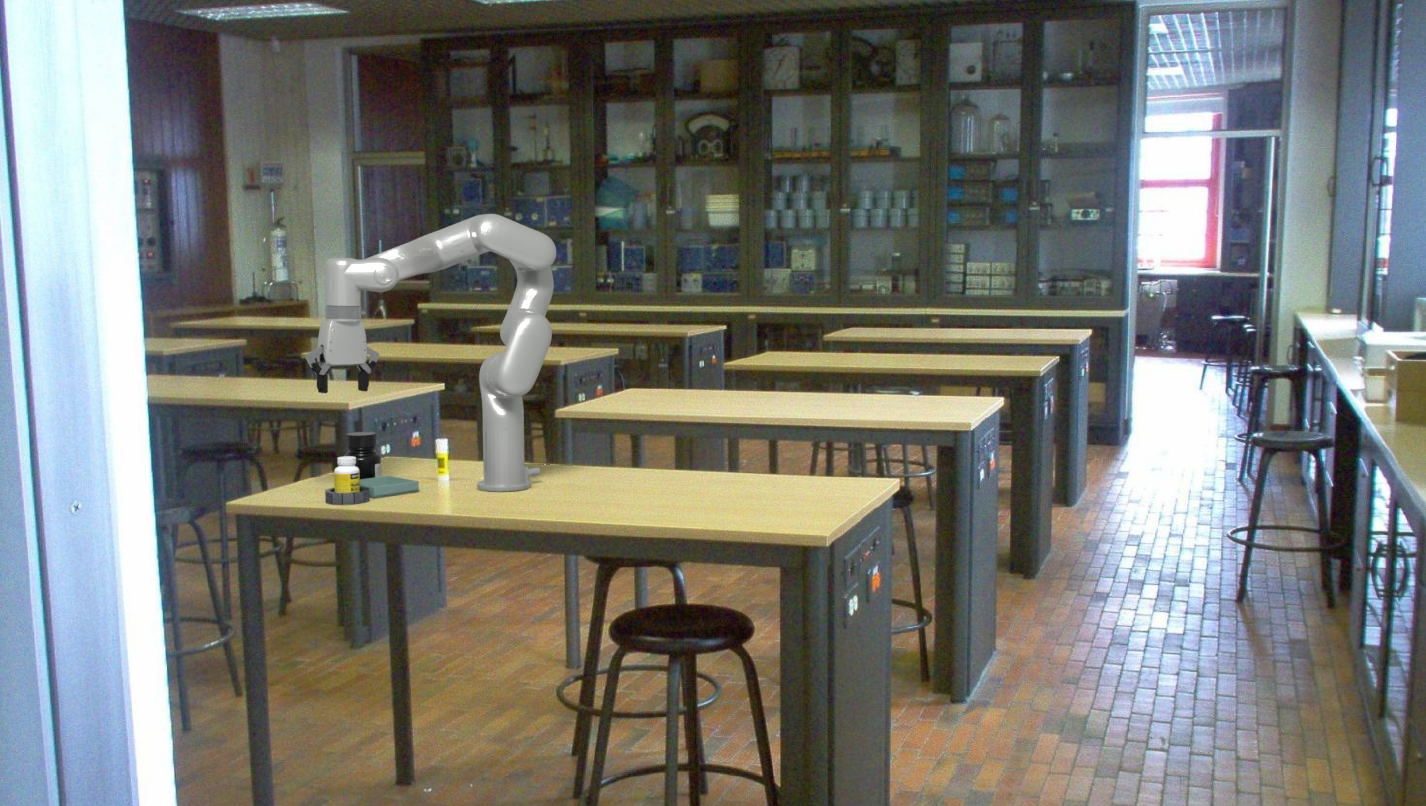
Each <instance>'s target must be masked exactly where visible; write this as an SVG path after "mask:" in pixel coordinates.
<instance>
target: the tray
mask: <svg viewBox="0 0 1426 806" xmlns="http://www.w3.org/2000/svg"><path fill="white" fill-rule="evenodd" d="M419 485H420V484H419V481H418V480H415V479H410V478H409V479H408V478H404V477H403V478H402V477H398V476H393V475H382V477H374V478H367V479H360V486H362V487H367V488H369V492H370V499H372V500H373V499H381V498H387V497H388V498H389V497H395V496H400V495H407V494H413V493H414V494H415V493H419V491H420V489H419V488H420V486H419Z"/></svg>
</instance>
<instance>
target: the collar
mask: <svg viewBox="0 0 1426 806" xmlns="http://www.w3.org/2000/svg"><path fill="white" fill-rule="evenodd" d="M324 491H325V493H324V494H325V495H324V496H325V499H324V501H325V503H326V504H328V505H335V506H336V505H337V506H347V505H348V506H349V505H350V506H351V505H359V504H364V503H367V502H370V501H371V498H370V492H369V488H367V487H362V486H360V491H359V492H350V493H335V487H331V488H330V487H329V488H327V489H324Z"/></svg>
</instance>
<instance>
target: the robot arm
mask: <svg viewBox="0 0 1426 806" xmlns="http://www.w3.org/2000/svg"><path fill="white" fill-rule="evenodd" d="M488 252H492V253H494V254H496V255H499V256H501V257H503V258H505V259H507V260H509V262H510V263H511V265H512V266H513V268H514V270H515V273H516V279H517V282H516V287H515V291H514V294H513V296H512V299H511V301H510V303H509V306H508V309H507V312H506V313H505V316H504V318H503V320H502V323H501V325H500V326H501V327H500V331H499V336H500V340H501V341H502V343H503V344H504V346H505V348H504V351H503V352H496V353H494V354H492V355H490V356H488V357H487V358H485V360H483V362H482V364H481V366H480V370H479V375H478V376H479V377H478V380H479V389H480V394H481V404H482V405H481V408H482V457H483V458H482V460H483V462H482V463H483V480H480V481H478V482H477V483H476V487H477V488H476V489H479V490H480V491H481V490H482V491H487V492H515V491H516V492H517V491H521V490H527V489H530V488H531V487H532V481H531V480H529V478H531V477H536V476H540V475H541V469H540V468H539V467H538V466H537V467H531V468H529V467H528V466H525V427H524V425H525V423H524V422H525V417H524V415H525V414H524V413H525V411H524V400H523V396H524V395H526V394H528V393H529V392H530V391H531V390H532V389H533V387H534V385H535V382H536V381H537V378H538V377H539V374H540V372H541V369H542V367H543V363H544V361H545V359H546V356H547V354H548V351H549V348H550V346H551V342H552V335H553V332H552V331H553V330H552V325H551V323H550V321H549V320H548V318H546V315H547V312H548V309H549V307H550V303H551V300H552V298H553V297H552V296H553V293H554V276H553V271H552V269H551V268H552V267H551V266H552V265H553V263H554V262H555V260H556V257H557V247H556V245H555V243H554V241H553V240H552V238H551V237H549V235H547V234H546V233H543V232H541V231H538V230H535V229H533V228H531V227H528V226H526V225H523V224H521V223H518V222H516V221H514V220H512V219H510V218H507V217H504V216H503V215H500V214H497V213H485V214H477V215H474V216H472V217H470V218H466V219H464V220H462V221H459V222H456V223H454V224H452V225H448V226H446V227H444V228H441V229H439V230H436V231H432V232H431V233H427V234H425V235H423V236H420V237H417V238H415V239H413V240H411V241H409V242H406V243H404V244H403V243H402V244H401V245H398V246H395V247H393V248H390V249H387V250H385V251H383V252H382V251H381V252H380V253H377V254H373V255H372V256H369V257H366V258H364V259H356V258H353V257H352V258H351V257H330V258H328V259H327V260H326V261H325V263H324V264H325V265H324V309H325V310H324V313H325V314H324V317H325V318H324V319H323V320H321V322H320V326H319V331H318V335H317V336H318V338H317V347H316V348H315V349H313V350H311V351H310V352H308V353H307V354H305V355H304V358H305V359H306V361H307V364H308V366H309V368H310V369H311V370H312V371H313V372H314V374H315V375H316V389H317V392H318V393H321V394H327V393H329V390H328V389H329V386H328V385H329V383H328V382H329V380H328V377H329V376H328V375H327V374H326V373H327V372H328V370H330V368H331V367H342V366H343V367H345V366H355V367H357V368H358V370H359V372H358V373H357V390H358V391H361V392H368V391H369V390H368V389H369V386H370V381H369V380H370V374H371V373H372V370H373V369H374V367H376V365H377V362H378V360H379V357H380V353H379V352H378V351H376V350H374V349H372V348H370V347H369V346H367V345H368V344H367V335H366V329H365V324H364V321H363V320H361V319H362V316H365V315H366V313H367V312H366V309H364V308H362V306H361V292H362V290H363V291H367V292H368V291H370V292H376V293H384V292H387V291H391V290H392V289H393V288H394V287H395V286H396V285H397V284H398V282H400V281H402V280H405V279H408V278H411V277H414V276H418V275H423V274H429V273H435V272H438V271H442V270H445V269H448V268H450V267H452V266H455V265H458V264H460V263H462V262H465V261H468V260H470V259H472V258H475V257H478V256H480V255H482V254H485V253H488ZM368 356H369V357H370V358H369V360H368ZM315 359H317V360H315ZM367 360H368V361H367Z"/></svg>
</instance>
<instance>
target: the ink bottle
mask: <svg viewBox="0 0 1426 806" xmlns="http://www.w3.org/2000/svg"><path fill="white" fill-rule="evenodd" d="M346 449H347V450H348V451H347V452H346V453H345V454H344V456H353V457H356V464H355V466H356V467H358V468H359V474H360V479H367V478H374V477H382V476H383V475H382V457H381V454H380V453H378V452H377V450H375V449H377V433H376V432H373V431H371V432H370V431H356V432H349V433H346ZM344 456H343V457H344Z"/></svg>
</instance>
